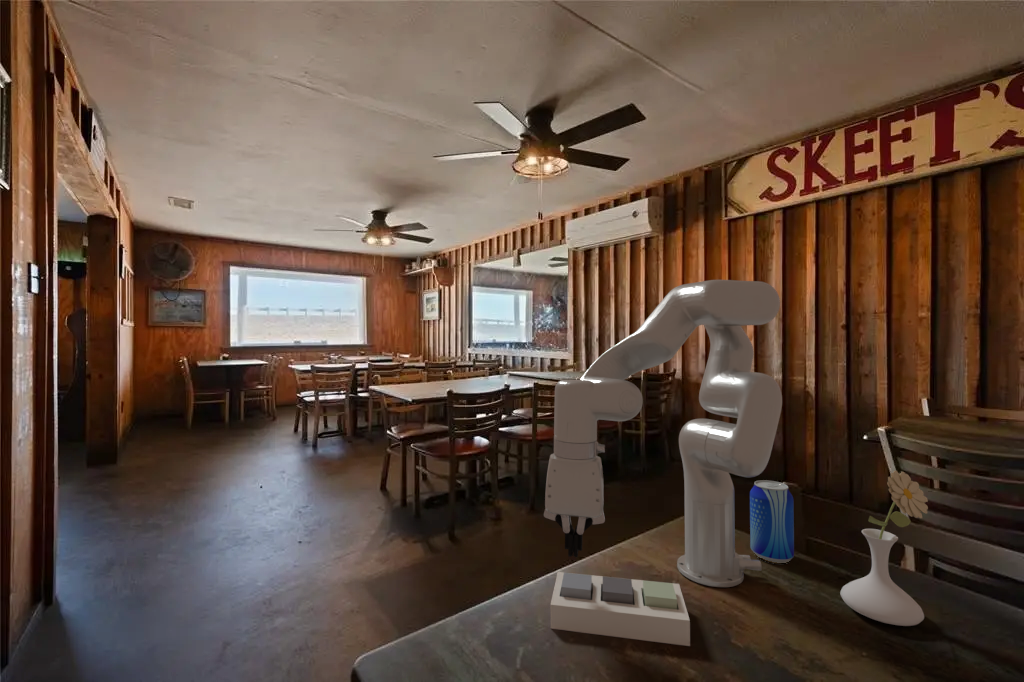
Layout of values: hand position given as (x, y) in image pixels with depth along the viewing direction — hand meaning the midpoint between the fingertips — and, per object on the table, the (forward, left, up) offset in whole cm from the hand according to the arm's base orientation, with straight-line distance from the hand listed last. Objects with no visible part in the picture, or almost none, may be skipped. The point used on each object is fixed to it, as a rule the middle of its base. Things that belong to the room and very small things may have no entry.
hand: (573, 553), depth 80 cm
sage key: (-15, 0, -8) cm, 17 cm away
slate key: (-1, 0, -8) cm, 8 cm away
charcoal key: (-8, 0, -8) cm, 11 cm away
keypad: (-8, 0, -11) cm, 13 cm away
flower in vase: (-54, -11, -11) cm, 56 cm away
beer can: (-42, -30, -11) cm, 52 cm away
